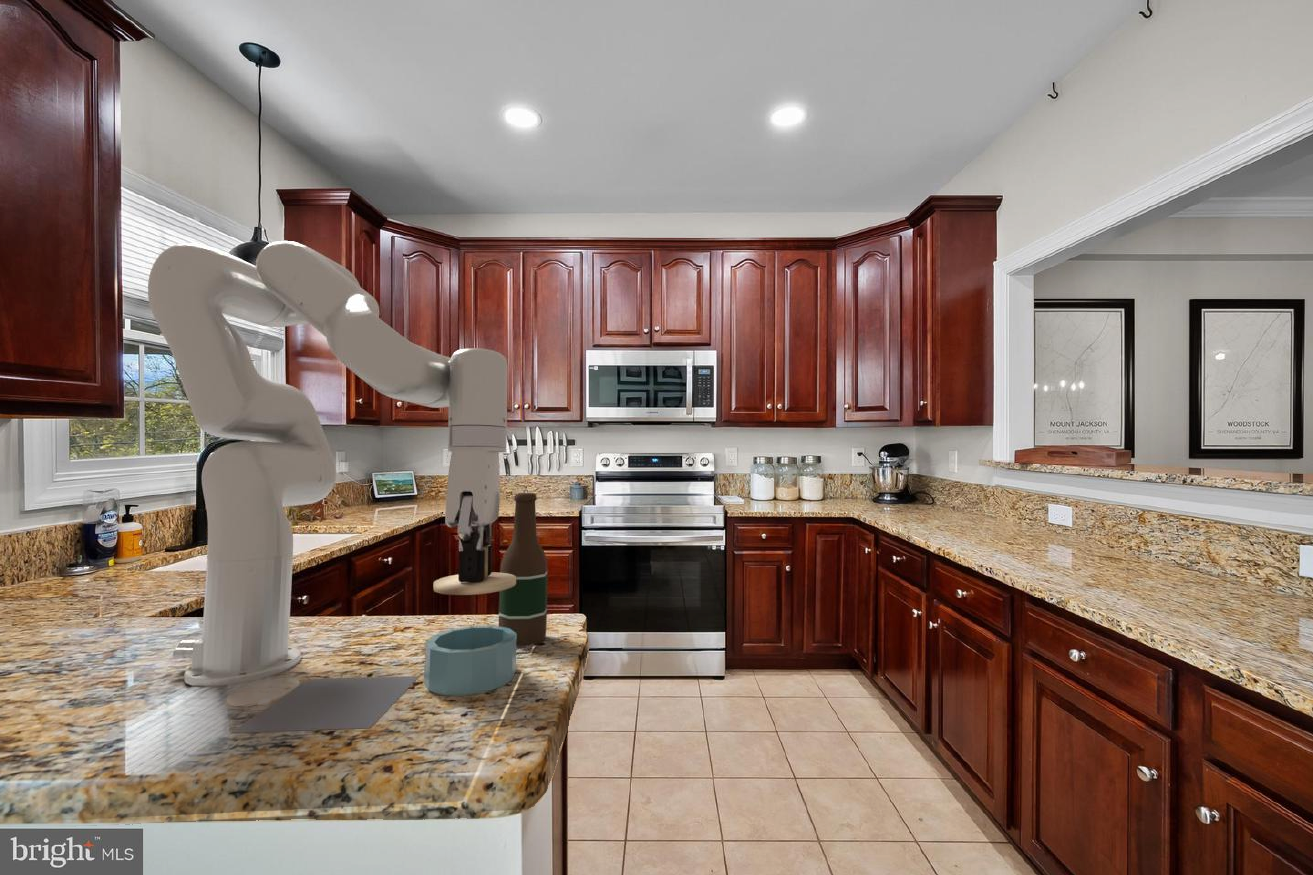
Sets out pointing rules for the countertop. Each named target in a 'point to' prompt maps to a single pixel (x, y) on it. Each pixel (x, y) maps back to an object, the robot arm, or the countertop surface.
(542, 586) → the beer bottle
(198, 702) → the countertop surface
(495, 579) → the lid
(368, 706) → the mat
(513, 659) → the bowl
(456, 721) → the countertop surface
